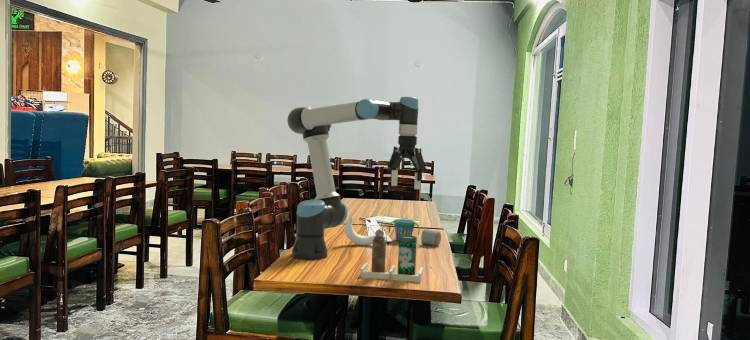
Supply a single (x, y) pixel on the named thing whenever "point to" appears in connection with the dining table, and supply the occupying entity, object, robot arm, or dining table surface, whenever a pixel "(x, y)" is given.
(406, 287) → the dining table surface
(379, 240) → the pepper mill
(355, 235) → the white curved horn
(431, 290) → the dining table surface
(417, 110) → the robot arm
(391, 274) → the caddy
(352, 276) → the dining table surface
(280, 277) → the dining table surface
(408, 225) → the snack cup
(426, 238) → the ceramic mug
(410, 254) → the can
